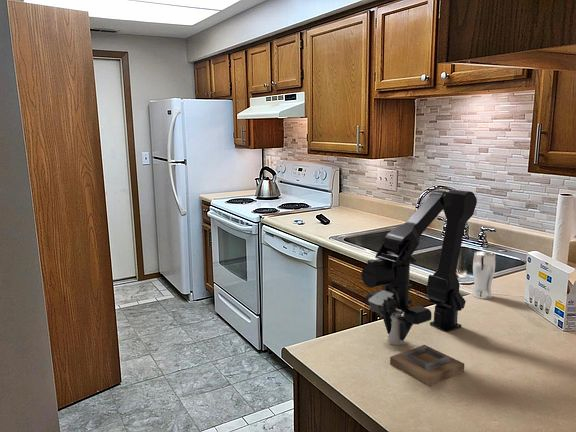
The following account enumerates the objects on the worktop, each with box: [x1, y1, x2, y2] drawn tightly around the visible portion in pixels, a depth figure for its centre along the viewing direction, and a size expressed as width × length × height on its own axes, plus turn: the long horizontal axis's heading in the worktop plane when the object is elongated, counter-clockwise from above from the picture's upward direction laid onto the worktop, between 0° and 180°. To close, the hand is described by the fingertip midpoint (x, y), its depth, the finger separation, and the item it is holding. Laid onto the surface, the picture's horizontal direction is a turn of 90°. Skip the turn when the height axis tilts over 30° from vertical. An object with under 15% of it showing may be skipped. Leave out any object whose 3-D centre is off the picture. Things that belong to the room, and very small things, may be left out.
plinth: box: [389, 344, 465, 387], centre depth 112 cm, size 12×12×3 cm
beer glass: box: [472, 250, 496, 300], centre depth 160 cm, size 7×7×15 cm
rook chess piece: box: [387, 311, 405, 347], centre depth 125 cm, size 4×4×8 cm
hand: (395, 336), depth 126 cm, fingers closed on rook chess piece, 4 cm apart
